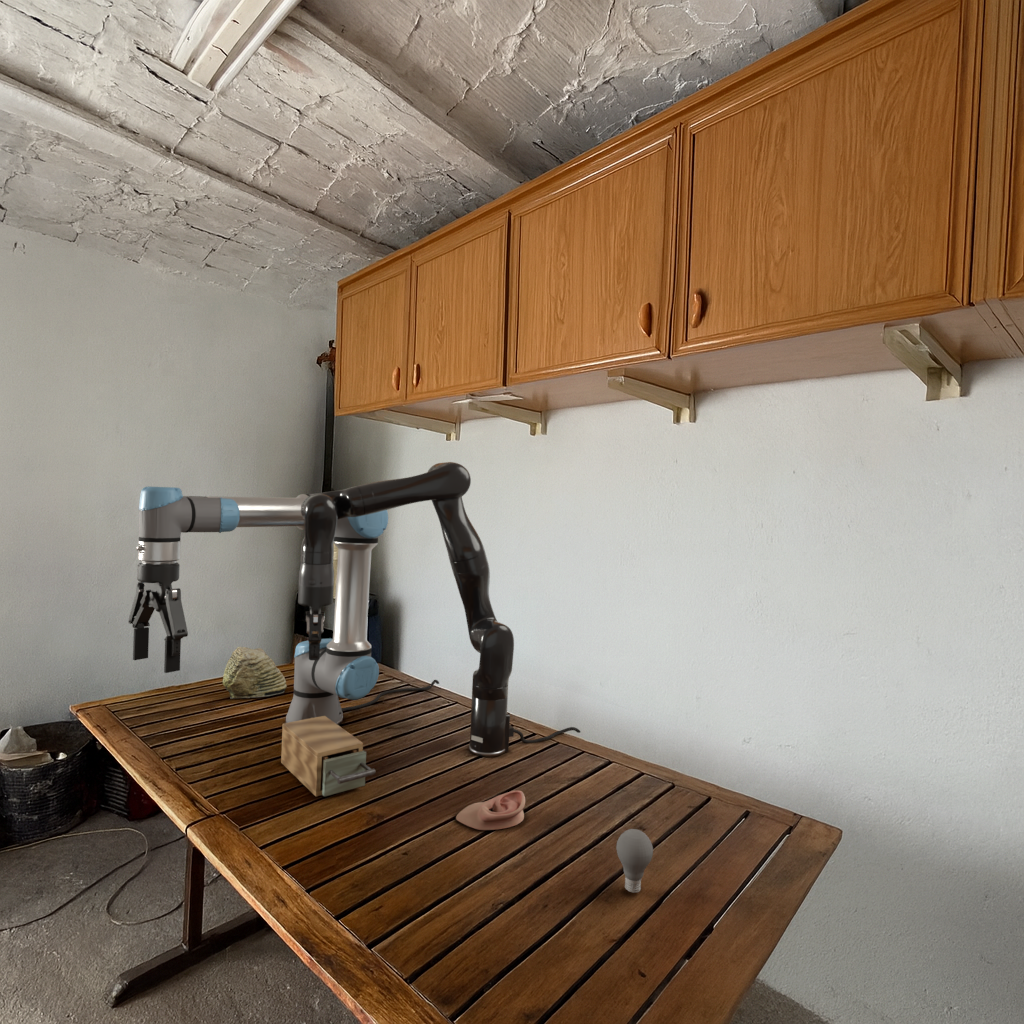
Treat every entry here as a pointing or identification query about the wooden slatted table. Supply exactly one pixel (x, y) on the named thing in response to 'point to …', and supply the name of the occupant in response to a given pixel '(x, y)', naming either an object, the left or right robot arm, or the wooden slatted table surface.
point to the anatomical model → (495, 812)
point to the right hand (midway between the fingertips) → (313, 655)
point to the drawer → (344, 771)
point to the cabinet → (313, 748)
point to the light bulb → (634, 857)
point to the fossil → (252, 674)
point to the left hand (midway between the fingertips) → (155, 665)
